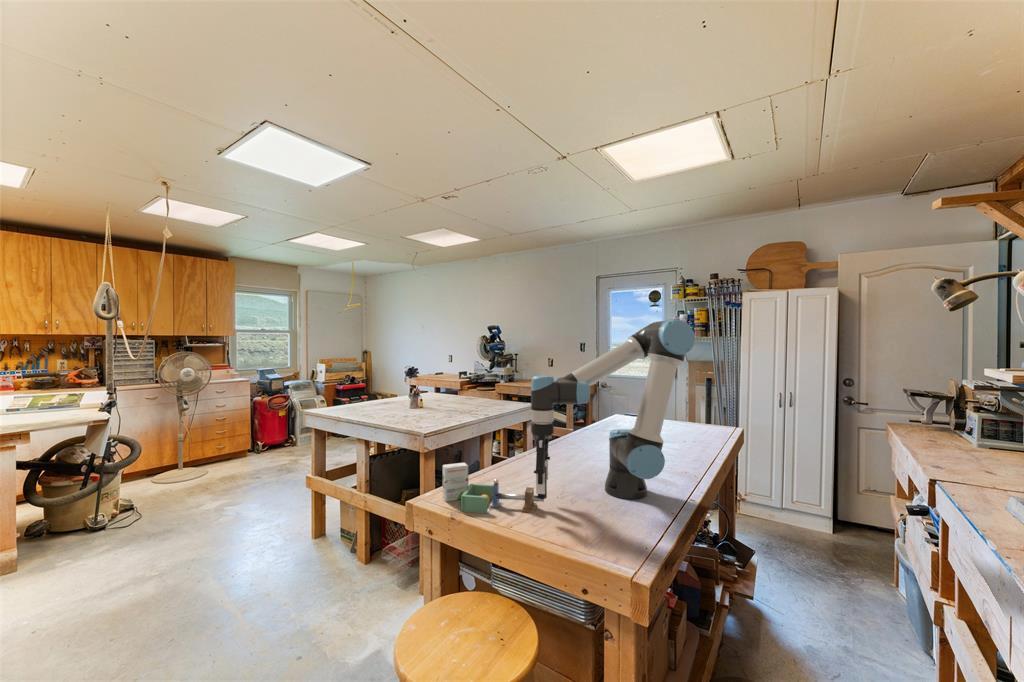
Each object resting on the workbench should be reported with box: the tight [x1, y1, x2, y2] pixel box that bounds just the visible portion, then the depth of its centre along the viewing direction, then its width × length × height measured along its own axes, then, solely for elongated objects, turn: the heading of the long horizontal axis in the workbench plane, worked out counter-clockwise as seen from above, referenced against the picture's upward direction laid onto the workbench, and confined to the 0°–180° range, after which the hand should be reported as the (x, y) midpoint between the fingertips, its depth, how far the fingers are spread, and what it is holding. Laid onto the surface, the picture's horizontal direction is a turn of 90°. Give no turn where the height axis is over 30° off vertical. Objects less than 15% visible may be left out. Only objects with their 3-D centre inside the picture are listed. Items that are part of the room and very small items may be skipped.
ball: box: [481, 494, 491, 506], centre depth 133 cm, size 4×4×4 cm
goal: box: [460, 483, 494, 514], centre depth 134 cm, size 9×12×5 cm
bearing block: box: [521, 486, 537, 514], centre depth 131 cm, size 4×7×6 cm, turn 171°
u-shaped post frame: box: [492, 466, 548, 508], centre depth 132 cm, size 18×3×14 cm, turn 81°
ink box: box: [442, 462, 469, 503], centre depth 140 cm, size 9×5×12 cm, turn 112°
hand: (542, 486), depth 130 cm, fingers open, 13 cm apart
